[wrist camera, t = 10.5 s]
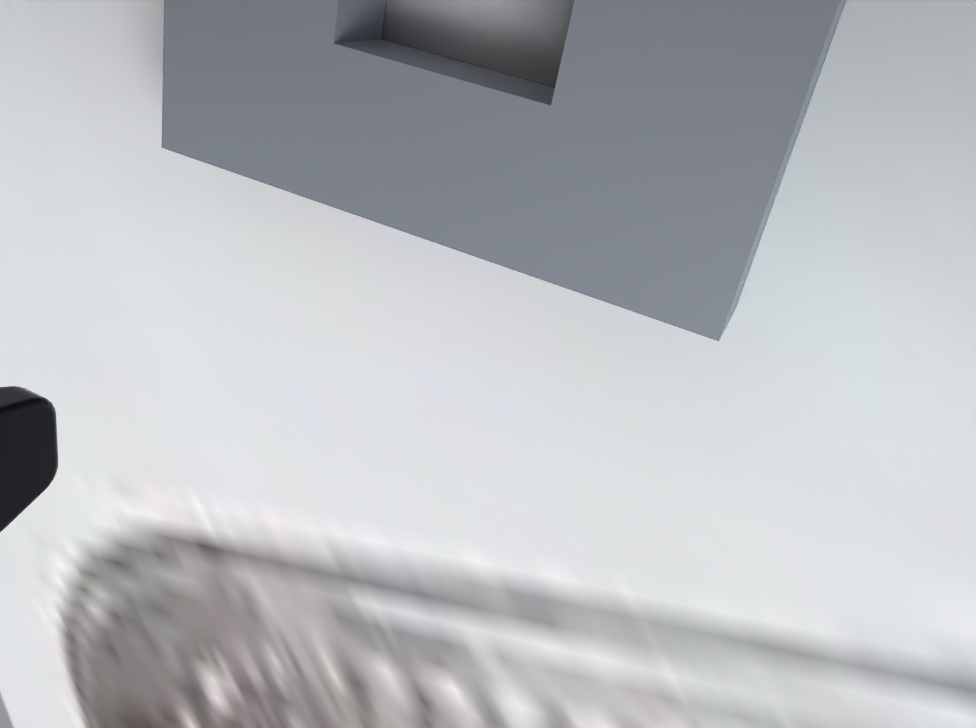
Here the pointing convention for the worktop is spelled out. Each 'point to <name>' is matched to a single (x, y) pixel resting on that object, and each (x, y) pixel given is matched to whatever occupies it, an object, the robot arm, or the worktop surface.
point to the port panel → (520, 134)
